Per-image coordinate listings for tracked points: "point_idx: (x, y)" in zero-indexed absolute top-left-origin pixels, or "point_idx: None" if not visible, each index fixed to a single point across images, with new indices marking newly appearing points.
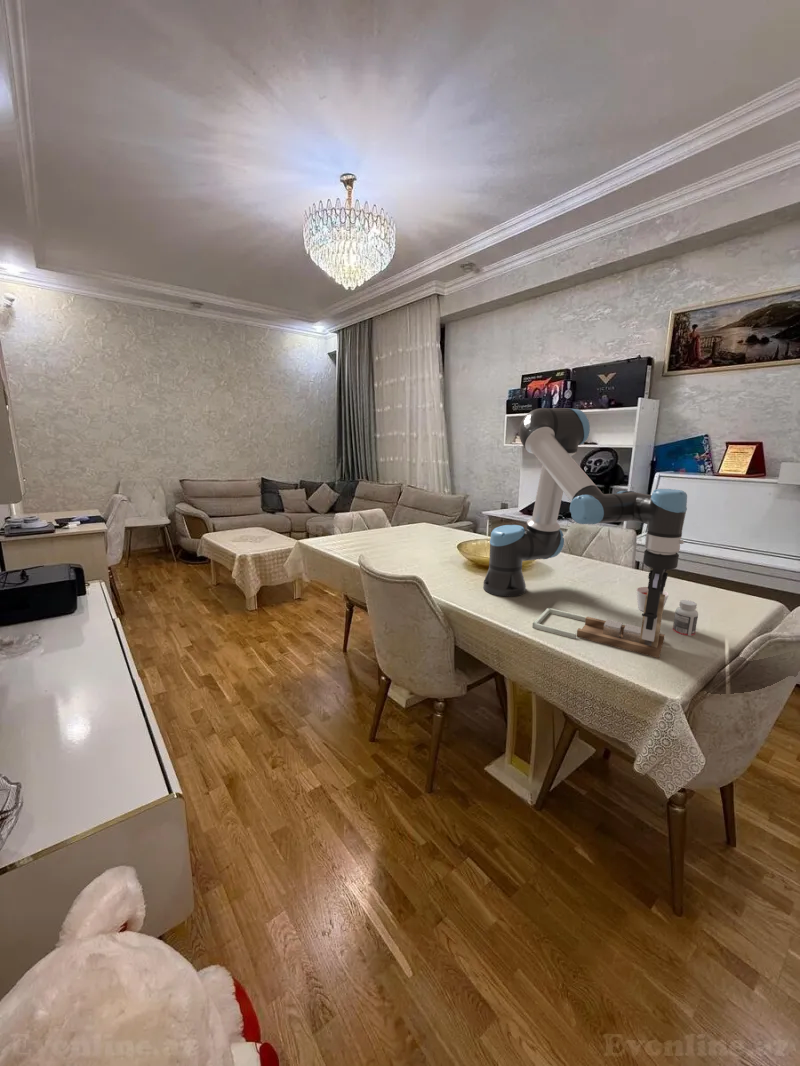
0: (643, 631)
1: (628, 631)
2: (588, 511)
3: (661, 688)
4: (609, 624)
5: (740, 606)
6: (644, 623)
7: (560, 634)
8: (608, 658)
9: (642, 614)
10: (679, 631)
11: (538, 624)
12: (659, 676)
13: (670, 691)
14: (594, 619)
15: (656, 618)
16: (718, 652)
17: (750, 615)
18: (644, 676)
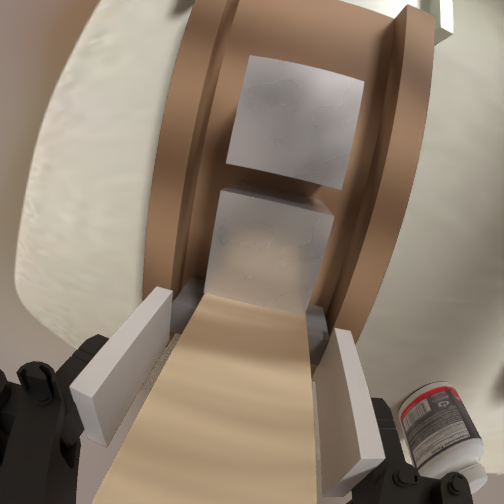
0: (134, 314)
1: (216, 220)
2: None
3: (29, 284)
4: (267, 90)
5: None
6: (105, 347)
7: None
8: (99, 130)
9: (22, 369)
10: (415, 408)
11: None
12: (72, 293)
13: (31, 301)
14: (416, 43)
15: (86, 434)
16: (318, 454)
17: (491, 464)
18: (50, 250)
